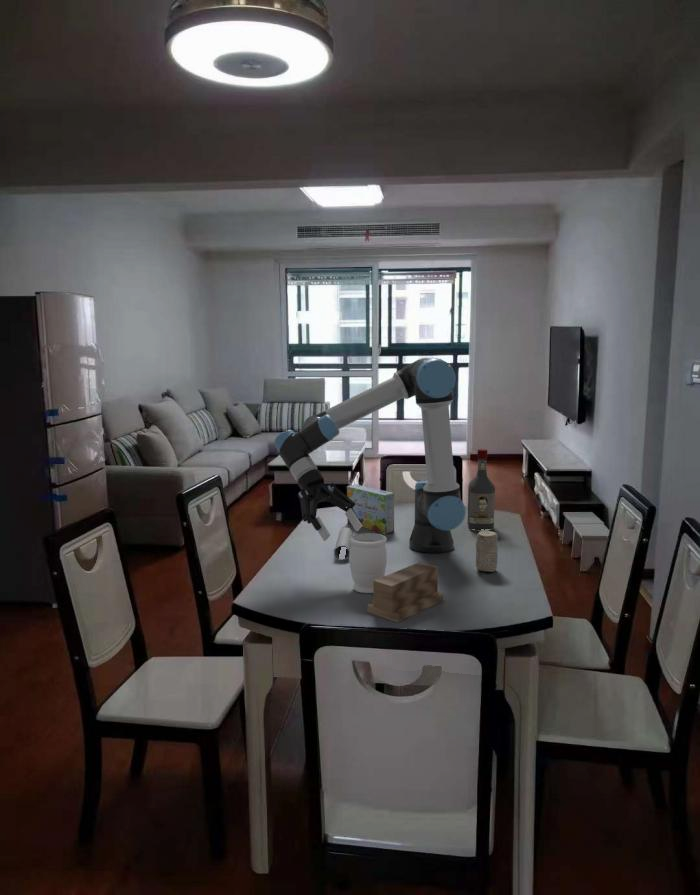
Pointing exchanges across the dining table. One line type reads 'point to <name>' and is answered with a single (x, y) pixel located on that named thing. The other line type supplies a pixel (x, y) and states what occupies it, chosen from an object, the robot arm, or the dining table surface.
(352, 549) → the jar
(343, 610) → the dining table surface
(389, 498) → the snack box
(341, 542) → the tube
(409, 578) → the wooden block
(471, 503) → the liquor
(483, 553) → the carving
